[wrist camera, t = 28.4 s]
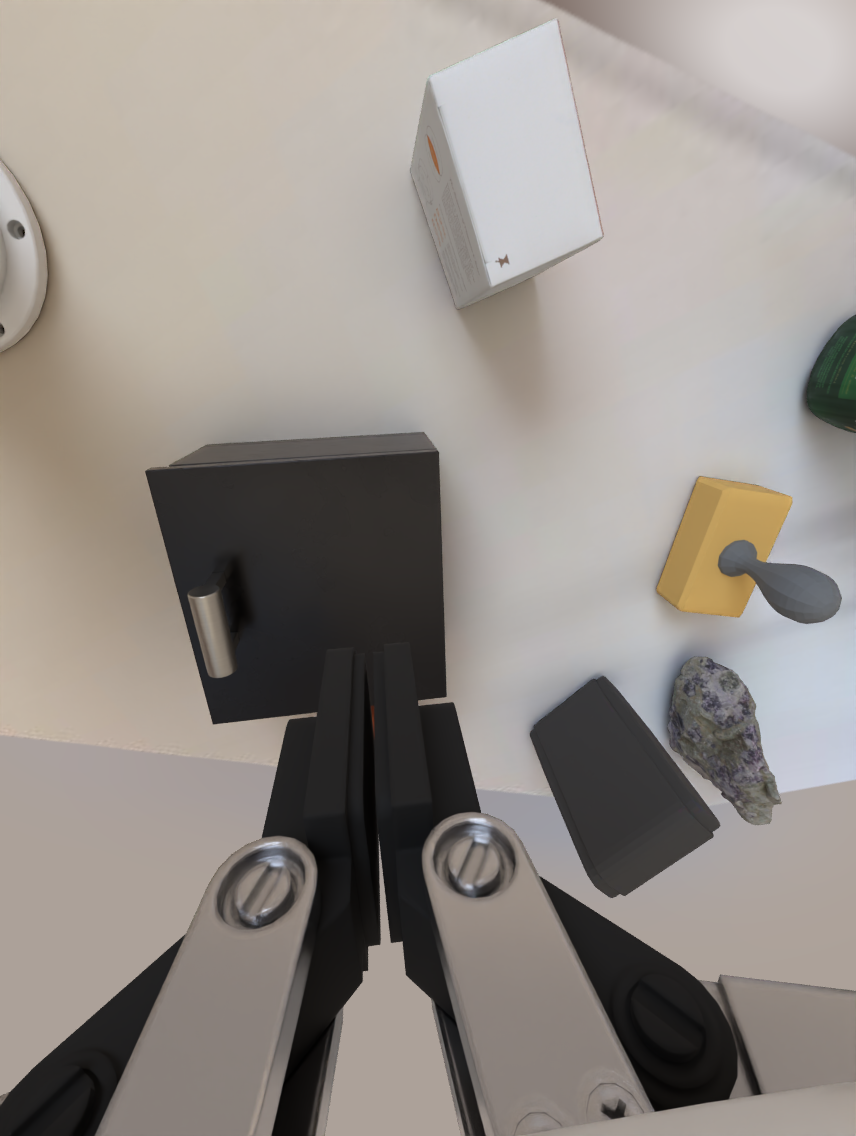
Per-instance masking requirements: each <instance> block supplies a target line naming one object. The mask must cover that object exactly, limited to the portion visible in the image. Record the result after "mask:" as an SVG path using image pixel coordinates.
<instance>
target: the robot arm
mask: <svg viewBox="0 0 856 1136" xmlns="http://www.w3.org/2000/svg"><path fill="white" fill-rule="evenodd" d="M23 229H25V236H23V234H22V231H23ZM47 278H48V271H47V258H46V250H45V246H44V242H43V238H42V234H41V230H40V226H39V224H38V222H37V219H36V217H35V214H34V212H33V210H32V207H31V205H30V203H29V201H28V199H27V197H26V196H25V194H24V192H23V191H22V189H21V187H20V186H19V184H18V182H17V181H16V179H15V177H14V176H13V174H12V173H11V172H10V171H9V170H8V168H7V167H6V166H5V165H4V163H3V162H2V161H1V160H0V352H2V351H4V350H6V349H7V348H9V347H11V346H13V345H15V344H16V343H17V342H18V341H19V340H20V339H21V338H22V337H23V336H25V335H26V334H27V333H28V332H29V330H30V329H31V327H32V326H33V324H34V323H35V321H36V319H37V318H38V316H39V314H40V311H41V308H42V305H43V302H44V299H45V295H46V287H47ZM2 327H4V331H5V333H4V331H3V329H2ZM373 677H374V731H373V722H372V712H371V703H370V694H369V684H368V675H367V666H366V657H365V653H362V654H355V649H354V647H350V648H339V649H328V650H327V651H326V656H325V663H324V670H323V677H322V684H321V691H320V698H319V705H318V712H317V717H308V718H299V719H290V720H289V721H288V723H287V727H286V731H285V735H284V740H283V744H282V749H281V753H280V758H279V762H278V767H277V772H276V776H275V780H274V785H273V789H272V794H271V799H270V803H269V807H268V812H267V816H266V821H265V825H264V830H263V834H262V839H259V840H256V841H254V842H251V843H249V844H247V845H245V846H244V847H242V848H241V849H239V850H238V851H236V852H235V853H233V854H232V855H231V856H230V857H229V858H228V859H227V860H226V861H225V862H224V863H223V864H222V865H221V866H220V867H219V868H218V870H217V871H216V873H215V875H214V876H213V878H212V879H211V881H210V883H209V884H208V887H207V889H206V891H205V893H204V895H203V898H202V900H201V902H200V904H199V907H198V909H197V911H196V913H195V915H194V918H193V920H192V922H191V924H190V927H189V929H188V931H187V933H186V934H185V935H184V936H183V937H182V938H181V939H179V940H178V941H177V942H176V943H175V944H174V945H173V946H171V947H170V948H169V949H168V950H167V951H166V952H165V953H164V954H162V955H161V956H160V957H159V958H158V959H157V960H156V961H154V962H153V963H152V964H151V965H150V966H149V967H148V968H147V969H145V970H144V971H143V972H142V973H141V974H140V975H139V976H138V977H136V978H135V979H134V980H133V981H132V982H131V983H129V984H128V985H127V986H126V987H125V988H124V989H123V990H121V991H120V992H119V993H118V994H117V995H116V996H115V997H113V998H112V999H111V1000H110V1001H109V1002H108V1003H107V1004H106V1005H104V1007H102V1008H101V1009H100V1010H99V1011H98V1012H96V1013H95V1014H94V1015H93V1016H92V1017H91V1018H90V1019H88V1020H87V1021H86V1022H85V1023H84V1024H83V1025H82V1026H81V1027H80V1028H78V1029H77V1030H76V1031H75V1032H74V1033H73V1034H71V1035H70V1036H69V1037H68V1038H67V1039H66V1040H65V1041H63V1042H62V1043H61V1044H60V1045H59V1046H58V1047H57V1048H56V1049H54V1050H53V1051H52V1052H51V1053H50V1054H49V1055H48V1056H46V1057H45V1058H44V1059H43V1060H42V1061H41V1062H40V1063H38V1064H37V1065H36V1066H35V1067H34V1068H33V1069H32V1070H31V1071H30V1072H29V1073H28V1074H27V1075H26V1076H25V1078H23V1079H22V1080H21V1081H20V1082H19V1084H17V1086H16V1087H15V1088H14V1089H13V1090H12V1091H11V1092H9V1093H6V1094H4V1095H1V1096H0V1136H325V1131H326V1124H327V1118H328V1112H329V1106H330V1099H331V1093H332V1087H333V1081H334V1074H335V1068H336V1061H337V1055H338V1049H339V1043H340V1037H341V1030H342V1024H343V1006H344V1005H345V1003H346V1002H347V1001H348V1000H349V998H350V997H351V996H352V995H353V993H354V992H355V991H356V989H357V988H358V987H359V986H360V984H361V983H362V981H363V971H368V946H374V945H380V940H381V938H380V935H381V934H380V885H379V841H380V851H381V860H382V868H383V877H384V886H385V894H386V902H387V903H386V904H387V913H388V920H389V930H390V938H391V943H394V942H401V941H403V950H404V960H405V969H406V975H407V976H408V977H409V978H410V979H411V980H412V981H413V982H414V983H415V984H416V985H417V986H418V987H419V988H420V989H422V990H423V991H424V992H425V993H426V994H427V995H428V996H429V997H430V998H431V1001H432V1010H433V1014H434V1019H435V1023H436V1027H437V1032H438V1036H439V1040H440V1045H441V1049H442V1053H443V1058H444V1063H445V1067H446V1071H447V1076H448V1080H449V1085H450V1089H451V1094H452V1098H453V1102H454V1107H455V1111H456V1116H457V1120H458V1124H459V1129H460V1133H461V1136H856V991H852V990H843V989H835V988H826V987H818V986H810V985H802V984H794V983H785V982H776V981H769V980H760V979H752V978H744V977H734V976H727V975H720V977H719V980H718V983H717V982H709V981H701V980H697V979H696V978H695V977H694V976H692V975H691V974H690V973H688V972H687V971H686V970H685V969H684V968H682V967H681V966H680V965H678V964H676V963H675V962H673V961H672V960H670V959H669V958H667V957H665V956H664V955H662V954H661V953H659V952H658V951H656V950H654V949H653V948H651V947H650V946H648V945H647V944H645V943H644V942H642V941H640V940H639V939H637V938H636V937H634V936H633V935H631V934H629V933H628V932H626V931H625V930H623V929H622V928H620V927H619V926H617V925H615V924H614V923H612V922H611V921H609V920H607V919H606V918H604V917H603V916H601V915H600V914H598V913H597V912H595V911H593V910H592V909H590V908H589V907H587V906H586V905H584V904H582V903H581V902H579V901H578V900H576V899H575V898H573V897H571V896H570V895H568V894H567V893H565V892H564V891H562V890H561V889H559V888H557V887H556V886H554V885H553V884H551V883H550V882H548V881H547V880H545V879H543V878H542V877H540V876H539V875H538V873H537V871H536V869H535V867H534V865H533V863H532V861H531V859H530V857H529V855H528V853H527V851H526V849H525V847H524V845H523V843H522V841H521V840H520V839H519V837H518V836H517V834H516V833H515V831H514V830H513V829H512V828H511V827H509V826H508V825H507V824H506V823H504V822H503V821H502V820H500V819H497V818H495V817H493V816H491V815H488V814H483V813H481V810H480V806H479V802H478V798H477V794H476V789H475V785H474V781H473V777H472V773H471V769H470V765H469V761H468V757H467V753H466V749H465V745H464V741H463V737H462V733H461V729H460V725H459V721H458V716H457V712H456V709H455V705H454V703H453V702H451V703H442V704H432V705H423V706H418V699H417V692H416V685H415V678H414V671H413V664H412V657H411V650H410V643H409V642H403V643H392V644H383V652H373ZM378 834H379V836H378ZM378 838H379V839H378Z"/></svg>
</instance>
